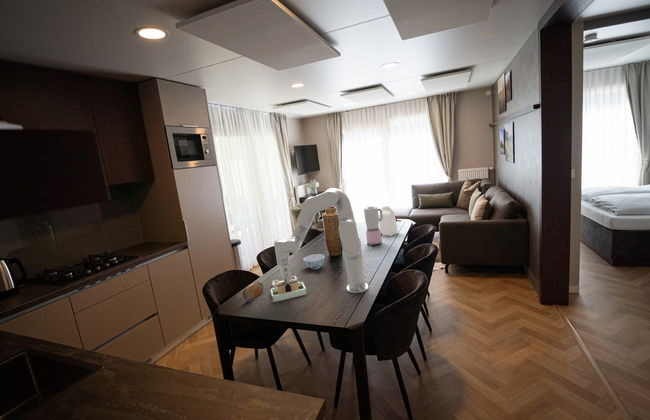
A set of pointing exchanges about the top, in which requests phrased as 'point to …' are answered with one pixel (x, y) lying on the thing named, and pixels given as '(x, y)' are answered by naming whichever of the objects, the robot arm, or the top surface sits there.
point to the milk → (388, 222)
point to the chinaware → (314, 261)
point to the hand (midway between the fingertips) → (288, 290)
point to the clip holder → (280, 281)
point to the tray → (288, 293)
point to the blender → (373, 225)
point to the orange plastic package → (252, 291)
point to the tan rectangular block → (282, 286)
